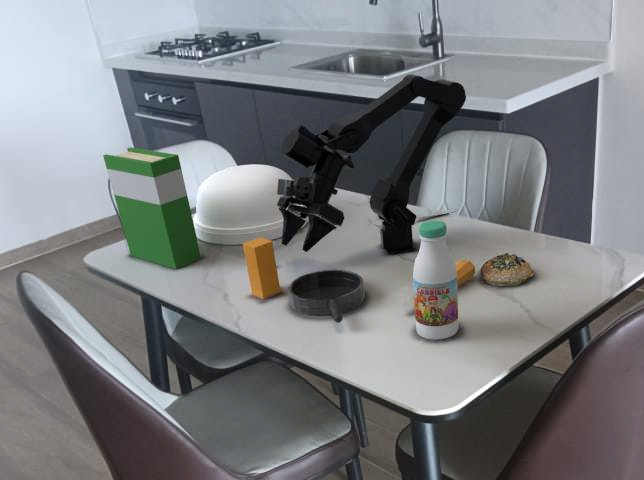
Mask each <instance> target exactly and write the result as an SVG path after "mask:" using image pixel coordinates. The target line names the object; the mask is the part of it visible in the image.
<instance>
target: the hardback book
mask: <svg viewBox="0 0 644 480" xmlns="http://www.w3.org/2000/svg"><path fill="white" fill-rule="evenodd" d="M102 156H103V160H104V164H105V169H106V172H107V175H108V178H109V182H110V185H111V189H112V193H113V197H114V200H115V204H116V209H117V212H118V214H119V218H120V222H121V226H122V229H123V233H124V236H125V241H126V243H127V247H128V251H129V255H130V256H131V257H133V258H137V259H141V260H145V261H148V262H152V263H155V264H158V265H160V266H161V265H162V266H165V267H168V268H172V269H175V270H177V269H180V268H182V267H184V266H186V265H189V264H191V263H193V262H196V261H198V260H200V259H202V256H201V250H200V247H199V246H200V245H199V241H198V238H197V236H196V232H195V228H194V223H193V215H192V210H191V206H190V205H191V204H190V202H189V197H188V193H187V192H188V191H187V188H186V184H185V178H184V175H183V170H182V166H181V161H180V157H179V154H175V153H168V152H163V151H157V150H149V149H143V148H139V147H138V148H137V147H127V152H123V153H120V154H115V155H112V154H107V153H106V154H103V155H102Z"/></svg>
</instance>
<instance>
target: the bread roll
mask: <svg viewBox="0 0 644 480" xmlns="http://www.w3.org/2000/svg"><path fill="white" fill-rule="evenodd" d="M480 275H481V278H482V279H483V281H484V282H485V283H487V284H490V285H494V286H498V287H503V286H504V287H505V286H519V285H521V284H522V283H524V282H526V281H527V280H528V279H531V278H532V277H533V276H534V275H535V270H534V269H533V268H532V265H531V264H530V263H529V262H527V261H526V259H523V258H522V256H518V255H517V254H516V253H513V254H511V255H510V254H509V253H508V252H505V253H504V254H497V256H493V257H492V258H490V259H488V260H487V261H485V262H484V263H483V264H482V265H481V267H480Z"/></svg>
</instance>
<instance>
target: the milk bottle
mask: <svg viewBox="0 0 644 480" xmlns="http://www.w3.org/2000/svg"><path fill="white" fill-rule="evenodd" d="M447 231H448V229H447V223H445V222H444V221H442V220H427V221H423V222H421V223H420V224H419V226H418V234H419V239H420V246H419V249H418V253H417V256H416V258H415V260H414V264H413V269H412V285H413V288H412V289H413V303H414V305H413V306H414V309H415V310H414V321H415V331H416V333H417V334H418V336H420V337H422V338H424V339H427V340H443V339H444V340H445V339H448V338H451V337H453V336H454V335H456V334H457V332H458V331H459V296H458V295H459V294H458V293H459V292H458V287H457V272H456V266H455V265H456V262H455V260H454V257H453V256H452V253H451V252H450V250H449V248H448V244H447V241H446V238H447V237H448V234H447Z"/></svg>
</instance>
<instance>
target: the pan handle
mask: <svg viewBox="0 0 644 480" xmlns="http://www.w3.org/2000/svg"><path fill="white" fill-rule="evenodd" d="M328 305H329V308H330V310H331V313H332V315H331V316H332V317H333V321H334V322H335V323H337V324H339V323H341V322H343V319H344V317H343V314H342V313H341V312H340V310H339V307H338V305H337V302H336V300H334V299H331V300H329V302H328Z"/></svg>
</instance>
